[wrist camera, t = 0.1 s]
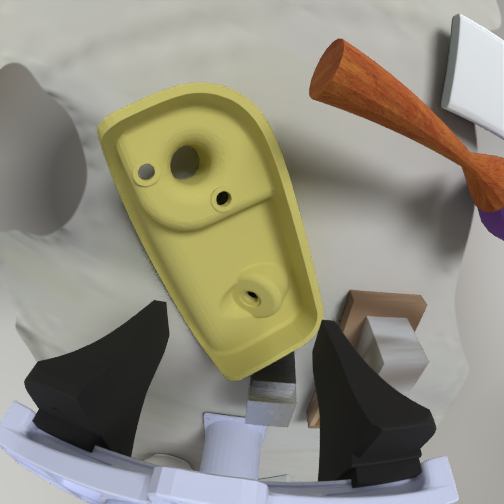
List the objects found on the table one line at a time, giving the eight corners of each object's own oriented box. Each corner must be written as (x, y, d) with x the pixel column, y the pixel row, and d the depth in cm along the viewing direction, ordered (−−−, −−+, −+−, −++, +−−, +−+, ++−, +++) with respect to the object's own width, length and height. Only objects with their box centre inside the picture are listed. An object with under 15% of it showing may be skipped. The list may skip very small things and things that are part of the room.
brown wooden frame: (361, 411, 31) (369, 457, 25) (306, 411, 31) (309, 460, 25) (420, 295, 23) (453, 346, 17) (350, 289, 23) (371, 347, 17)
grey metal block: (287, 380, 29) (287, 427, 23) (249, 377, 29) (244, 423, 24) (296, 347, 27) (298, 397, 21) (253, 343, 27) (248, 393, 21)
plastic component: (328, 329, 23) (217, 391, 21) (285, 290, 29) (195, 337, 27) (253, 63, 14) (73, 131, 11) (216, 86, 20) (93, 136, 18)
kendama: (366, 65, 7) (554, 242, 12) (356, -2, 9) (540, 173, 14) (290, 148, 13) (498, 256, 18) (303, 70, 14) (491, 193, 19)
